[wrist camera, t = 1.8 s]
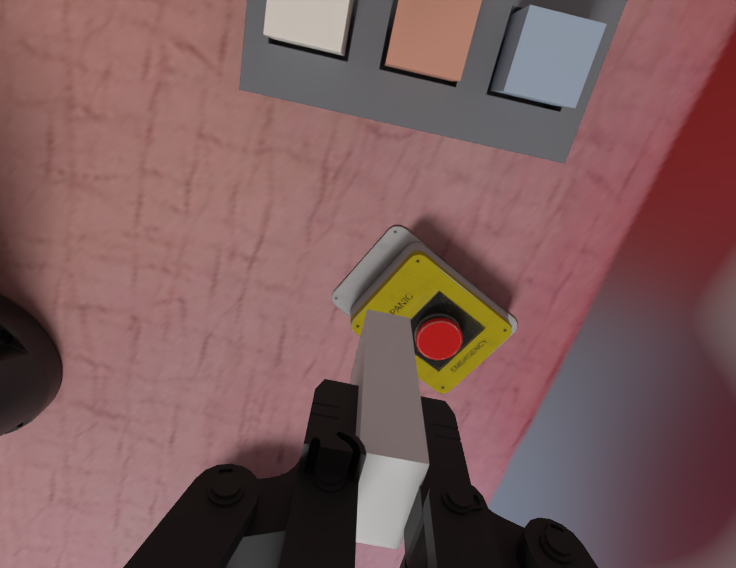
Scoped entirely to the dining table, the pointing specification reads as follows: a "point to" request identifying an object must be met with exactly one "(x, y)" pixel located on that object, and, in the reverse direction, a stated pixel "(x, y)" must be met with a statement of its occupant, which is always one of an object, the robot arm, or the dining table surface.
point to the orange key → (432, 36)
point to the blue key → (547, 56)
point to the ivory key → (310, 23)
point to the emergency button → (426, 307)
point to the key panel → (424, 78)
